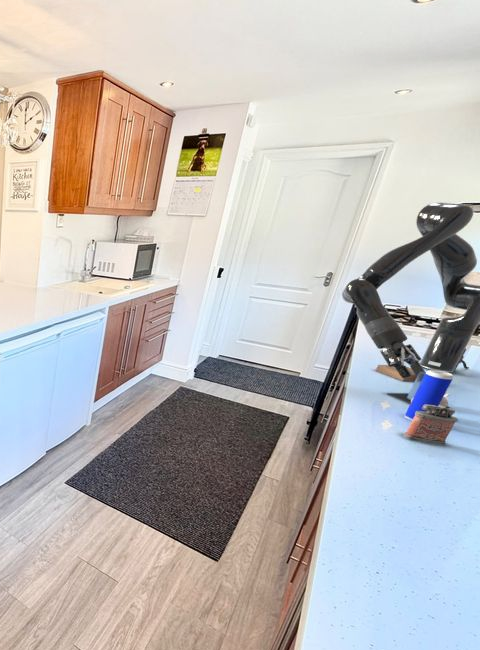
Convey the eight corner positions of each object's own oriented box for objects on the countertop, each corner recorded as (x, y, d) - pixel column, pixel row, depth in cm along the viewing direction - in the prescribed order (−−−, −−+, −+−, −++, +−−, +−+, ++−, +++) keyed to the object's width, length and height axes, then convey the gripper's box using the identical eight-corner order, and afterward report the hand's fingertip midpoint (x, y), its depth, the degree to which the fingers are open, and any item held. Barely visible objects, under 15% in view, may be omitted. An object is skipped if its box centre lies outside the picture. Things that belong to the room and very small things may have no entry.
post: (415, 396, 132) (428, 371, 129) (431, 403, 128) (445, 377, 124) (402, 396, 132) (415, 371, 128) (418, 403, 127) (431, 377, 124)
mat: (414, 394, 135) (414, 393, 135) (449, 408, 126) (449, 407, 125) (386, 394, 134) (387, 393, 134) (419, 408, 125) (420, 406, 125)
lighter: (438, 439, 107) (456, 406, 103) (447, 446, 104) (467, 412, 100) (400, 433, 109) (417, 400, 105) (408, 439, 106) (425, 406, 102)
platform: (399, 371, 156) (402, 365, 155) (428, 381, 147) (431, 375, 146) (375, 370, 155) (378, 364, 154) (402, 381, 146) (405, 374, 145)
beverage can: (417, 416, 119) (441, 369, 114) (434, 424, 115) (460, 376, 109) (399, 414, 120) (422, 368, 114) (415, 423, 115) (439, 375, 110)
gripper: (386, 328, 130) (417, 373, 124) (409, 325, 135) (440, 368, 129) (360, 338, 136) (388, 382, 131) (383, 335, 141) (411, 377, 136)
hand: (414, 375), depth 130 cm, fingers open, 8 cm apart
